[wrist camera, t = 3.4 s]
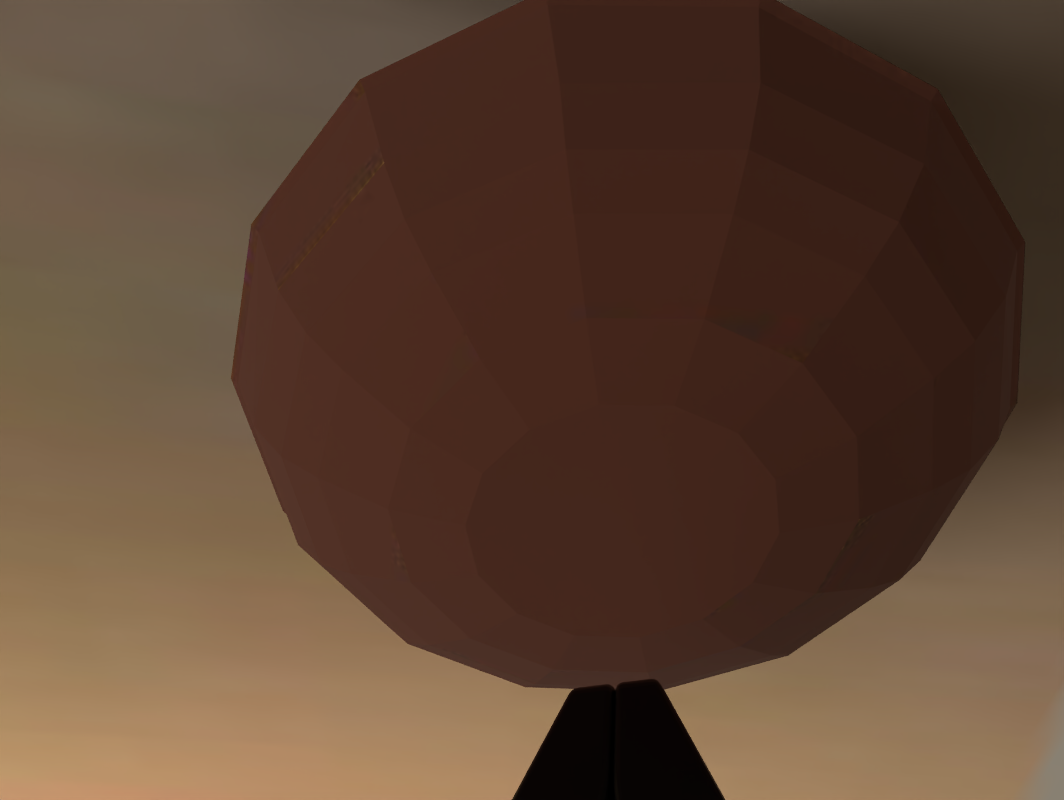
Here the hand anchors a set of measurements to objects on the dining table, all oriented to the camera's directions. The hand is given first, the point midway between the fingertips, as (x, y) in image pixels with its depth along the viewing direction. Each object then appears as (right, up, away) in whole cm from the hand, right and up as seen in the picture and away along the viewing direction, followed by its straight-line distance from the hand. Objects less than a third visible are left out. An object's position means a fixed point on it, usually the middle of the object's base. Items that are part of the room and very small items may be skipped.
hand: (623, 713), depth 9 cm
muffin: (+1, +7, +11) cm, 13 cm away
